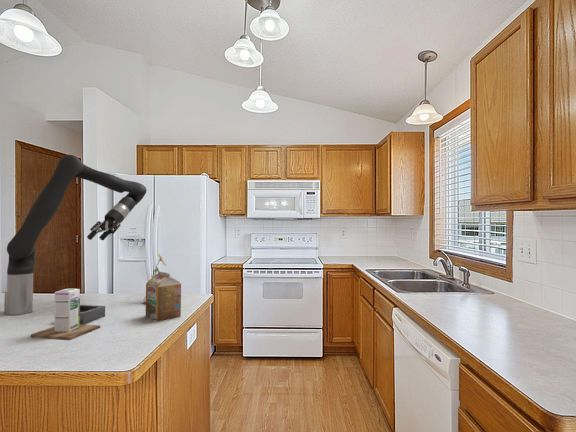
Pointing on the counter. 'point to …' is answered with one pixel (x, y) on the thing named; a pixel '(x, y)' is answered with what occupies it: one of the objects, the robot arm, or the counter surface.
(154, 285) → the milk carton
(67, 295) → the syrup box
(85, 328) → the walnut mat
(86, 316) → the square socket
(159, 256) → the flower in vase
